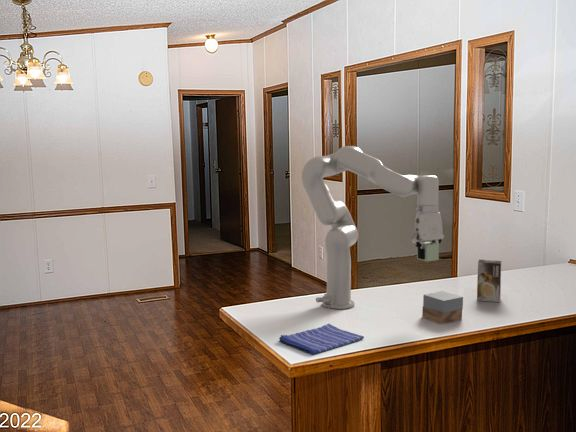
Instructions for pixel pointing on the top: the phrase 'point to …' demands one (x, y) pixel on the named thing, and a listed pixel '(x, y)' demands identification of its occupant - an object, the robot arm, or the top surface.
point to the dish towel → (320, 339)
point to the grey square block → (443, 301)
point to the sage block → (430, 251)
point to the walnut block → (442, 315)
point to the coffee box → (489, 280)
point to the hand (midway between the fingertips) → (427, 257)
